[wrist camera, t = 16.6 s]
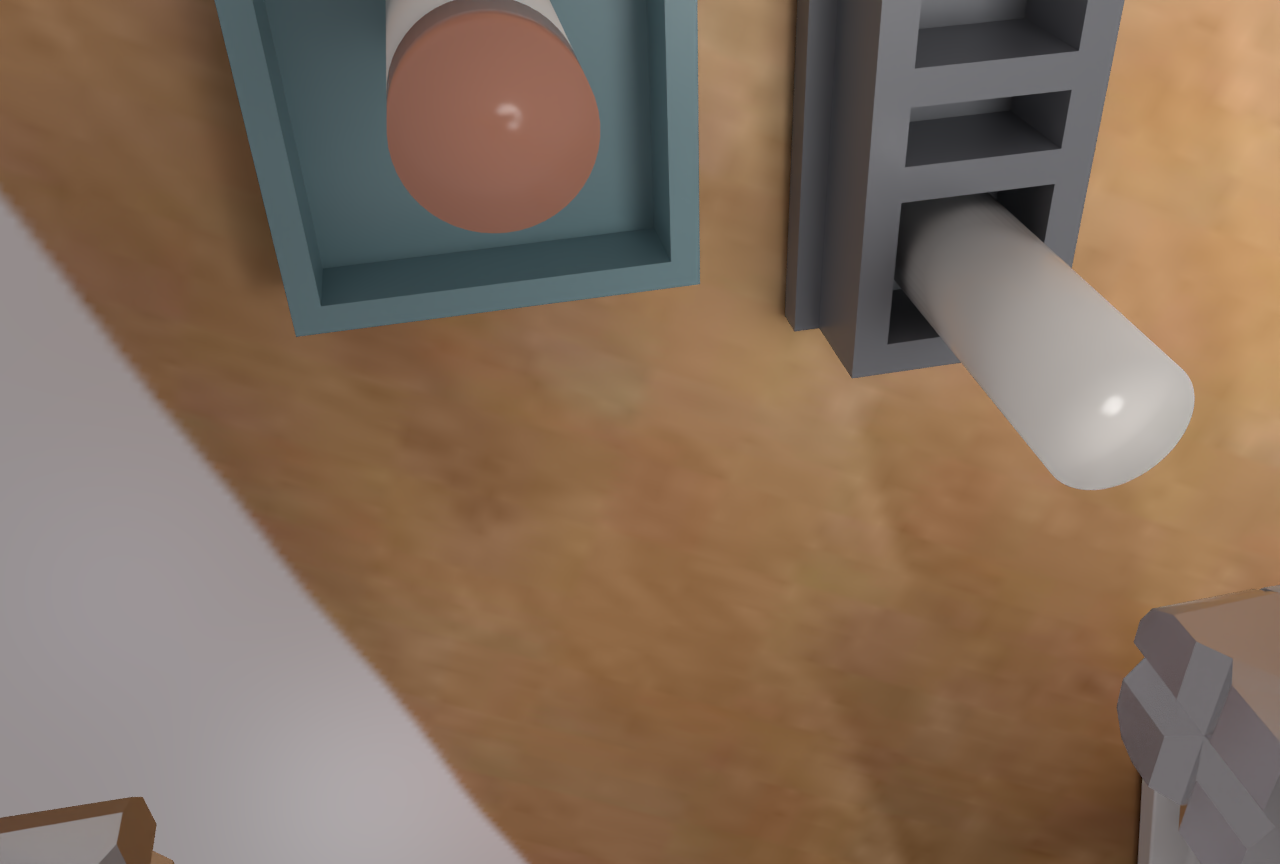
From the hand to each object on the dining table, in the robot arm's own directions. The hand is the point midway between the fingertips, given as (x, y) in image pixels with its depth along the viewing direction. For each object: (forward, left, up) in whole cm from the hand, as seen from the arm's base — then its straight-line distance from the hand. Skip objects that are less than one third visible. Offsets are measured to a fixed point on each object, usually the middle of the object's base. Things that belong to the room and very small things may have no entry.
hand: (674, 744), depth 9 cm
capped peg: (0, 0, -24) cm, 24 cm away
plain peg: (-8, -13, -24) cm, 28 cm away
